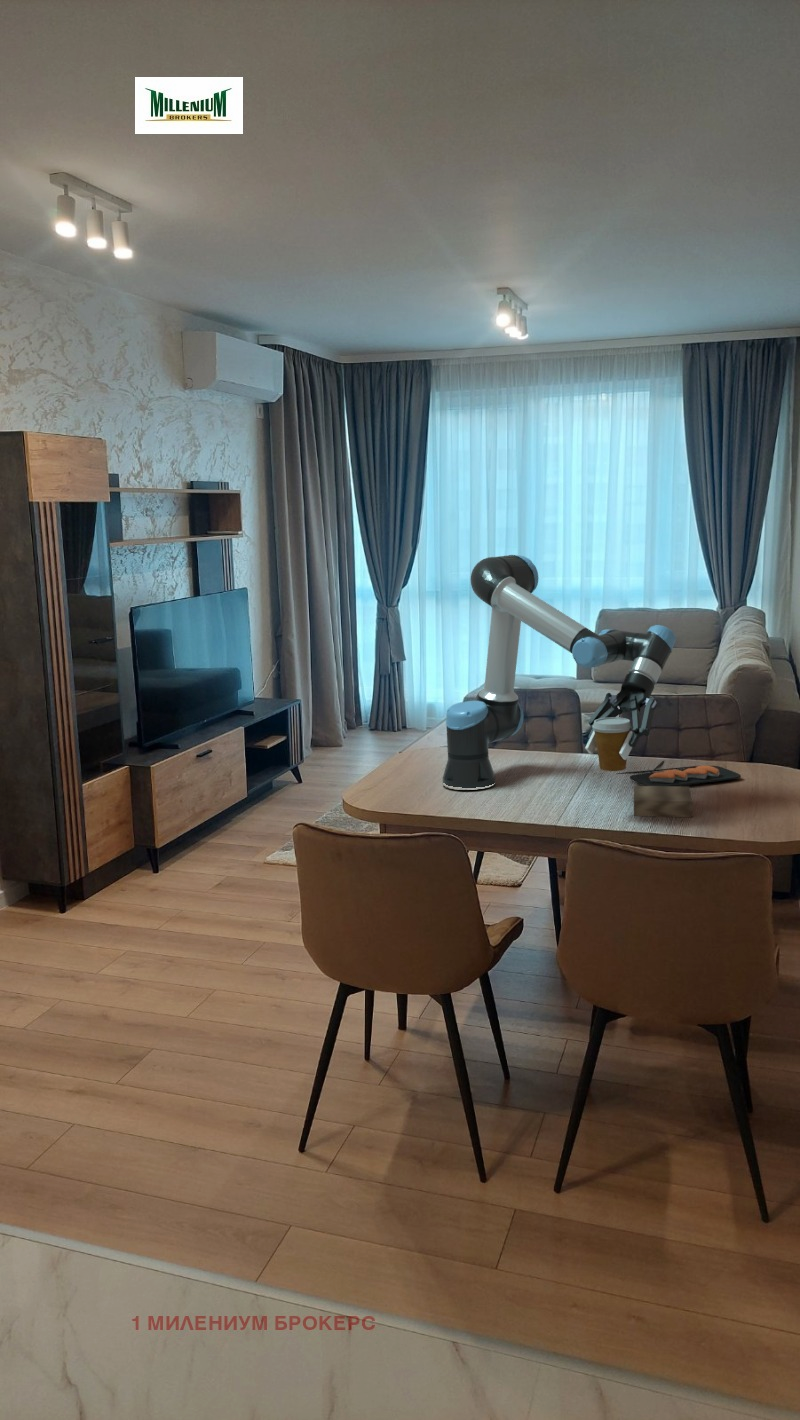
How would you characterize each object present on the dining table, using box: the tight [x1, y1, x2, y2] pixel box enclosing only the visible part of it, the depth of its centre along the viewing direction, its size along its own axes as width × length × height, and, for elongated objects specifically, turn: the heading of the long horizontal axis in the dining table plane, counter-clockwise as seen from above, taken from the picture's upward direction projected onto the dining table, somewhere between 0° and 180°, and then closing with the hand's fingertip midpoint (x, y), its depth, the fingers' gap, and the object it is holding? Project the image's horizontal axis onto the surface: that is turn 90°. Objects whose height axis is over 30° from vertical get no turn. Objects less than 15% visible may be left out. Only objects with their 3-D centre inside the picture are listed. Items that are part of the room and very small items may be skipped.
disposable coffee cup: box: [591, 716, 633, 772], centre depth 243 cm, size 10×10×12 cm
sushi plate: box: [615, 760, 742, 787], centre depth 285 cm, size 29×30×4 cm
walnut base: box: [633, 785, 693, 818], centre depth 252 cm, size 14×14×4 cm
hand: (605, 753), depth 241 cm, fingers closed on disposable coffee cup, 9 cm apart
